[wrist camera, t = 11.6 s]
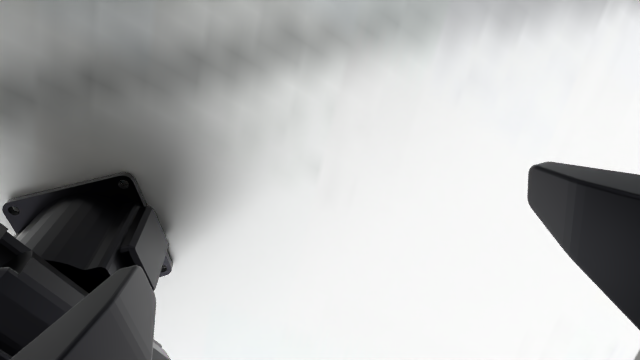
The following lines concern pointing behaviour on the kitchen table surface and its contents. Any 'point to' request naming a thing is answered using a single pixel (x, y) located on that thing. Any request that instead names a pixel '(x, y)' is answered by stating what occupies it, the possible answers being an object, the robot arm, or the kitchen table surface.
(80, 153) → the kitchen table surface
